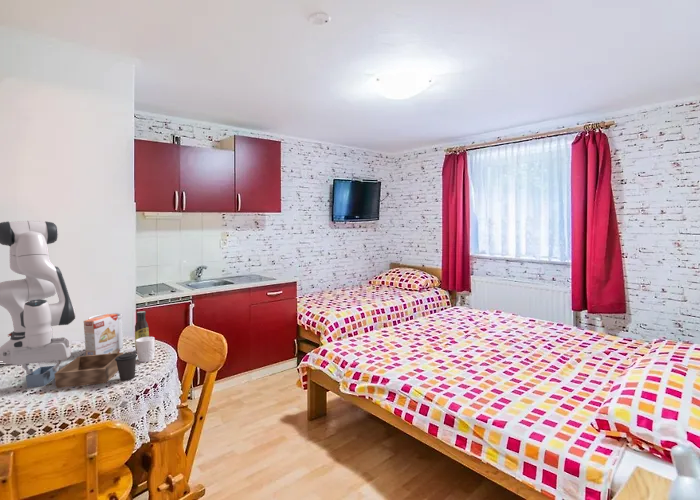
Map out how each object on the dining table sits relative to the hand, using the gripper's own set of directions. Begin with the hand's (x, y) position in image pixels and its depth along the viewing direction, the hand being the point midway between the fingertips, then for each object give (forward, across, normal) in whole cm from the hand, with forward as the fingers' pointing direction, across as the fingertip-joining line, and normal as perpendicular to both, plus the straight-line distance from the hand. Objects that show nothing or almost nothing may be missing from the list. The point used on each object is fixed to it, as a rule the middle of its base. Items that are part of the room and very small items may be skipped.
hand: (42, 372), depth 159 cm
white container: (+4, -10, -39) cm, 41 cm away
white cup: (+4, -35, -16) cm, 38 cm away
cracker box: (+4, -15, -21) cm, 26 cm away
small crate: (+4, 0, 0) cm, 4 cm away
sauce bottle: (+4, -29, -31) cm, 43 cm away
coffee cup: (+5, -34, +6) cm, 34 cm away
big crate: (+4, -18, -1) cm, 18 cm away
